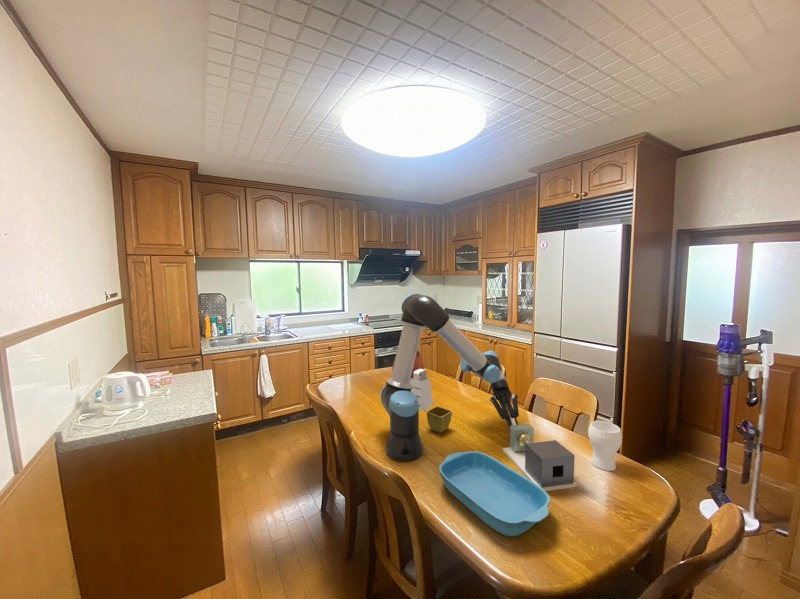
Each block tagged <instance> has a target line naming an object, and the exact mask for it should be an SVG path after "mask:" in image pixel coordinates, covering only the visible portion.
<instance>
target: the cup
mask: <svg viewBox="0 0 800 599" xmlns="http://www.w3.org/2000/svg"><path fill="white" fill-rule="evenodd" d="M587 432H588V434H587V435H588V438H589V442H590V444H591V446H592V450H593V451H592V452H593V454H592V458H591V464H592V465H593V466H594V467H596V468H598V469H599V470H601V471H607V472H612V471H615V470H616V469H617V465H616V459H615V458H616V453H617V452H618V451H619V449H620V448H621V445H622V443H623V434H622V430H621V428H620V427H619V426H618V425H617V424H614V423H612V422H609V421H604V420H594V421H591V422H590V424H589V427H588V429H587Z"/></svg>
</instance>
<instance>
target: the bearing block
mask: <svg viewBox="0 0 800 599" xmlns="http://www.w3.org/2000/svg"><path fill="white" fill-rule="evenodd" d="M525 470H526V472H527V473H528V474H529V475H530V476H531V477H532V478H533V479H534V480H535V481H536V482H537V484H538V485H539V486H540V487H541V488H544V487H551V486H558V485H566V484H573V483H574V482H575V481H574V480H575V478H574V477H575V454H573V453H572V451H570V450H569V449H567V448H566V447H565V446H563V445H562V444H561V443H560V442H558V441H557V440H556V439H555V440H546V441H544V440H543V441H535V442H534V443H526V445H525Z"/></svg>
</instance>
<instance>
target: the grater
mask: <svg viewBox="0 0 800 599" xmlns="http://www.w3.org/2000/svg"><path fill="white" fill-rule="evenodd" d="M420 372H421V376H420V375H419V373H420ZM410 383H411V385H412V387H413V388H412V389H411V392H412V393H414V394H415V395H416V396H417V398H418V402H419V410H420V411H419V412H422V411H424V410H425V411H426V409H427V410H429V409H430V408H431V407H430V406H432V405H433V406H434V401H433V393H432V387H431V386H432V385H431V379H430V377H428V376H427V370H426V369H425V368H424V369H418V370H416V371H414V373H413V378H411V380H410ZM433 406H432V407H433ZM429 407H430V408H429ZM425 411H424V412H425Z"/></svg>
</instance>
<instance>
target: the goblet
mask: <svg viewBox="0 0 800 599" xmlns="http://www.w3.org/2000/svg"><path fill="white" fill-rule="evenodd" d="M420 353H421V351H418V350H417V353H416V357H415V362H414V366H413V370H412V374H411V378H413V373H414V371H416V370H418V369H424V370H425V365H424V362H423V358H422V357H421V354H420ZM396 354H397V351H396V352H395V357H394V358H393V363H392V367H391V369H392V371H393V367H394V363H395V359H396ZM419 375H420V376H421V372H420V373H419ZM411 378H410V380H411ZM412 388H414V387H412Z"/></svg>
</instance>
